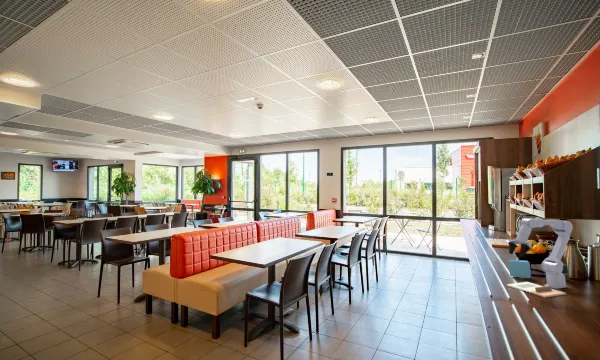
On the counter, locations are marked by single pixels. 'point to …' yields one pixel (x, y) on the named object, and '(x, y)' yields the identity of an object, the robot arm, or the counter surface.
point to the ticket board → (524, 286)
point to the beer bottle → (565, 268)
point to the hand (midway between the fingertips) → (515, 254)
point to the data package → (519, 268)
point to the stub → (547, 292)
